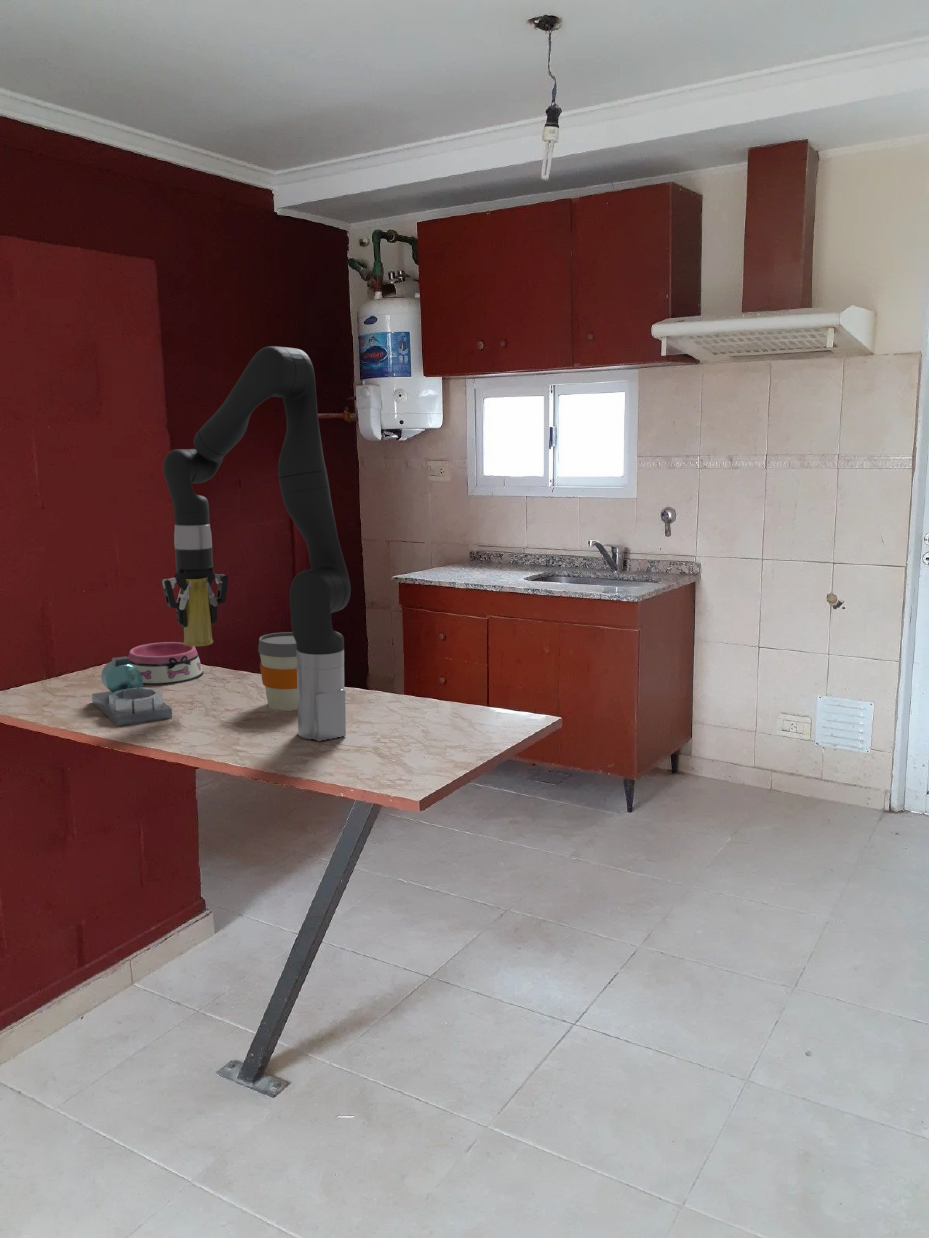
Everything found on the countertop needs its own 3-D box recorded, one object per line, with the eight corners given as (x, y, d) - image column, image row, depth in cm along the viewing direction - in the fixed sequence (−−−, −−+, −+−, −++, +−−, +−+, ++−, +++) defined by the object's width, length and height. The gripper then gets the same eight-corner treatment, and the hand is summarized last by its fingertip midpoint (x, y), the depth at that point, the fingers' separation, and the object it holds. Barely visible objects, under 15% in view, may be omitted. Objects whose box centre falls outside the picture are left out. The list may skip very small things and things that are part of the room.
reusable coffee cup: (323, 698, 216) (322, 632, 213) (309, 714, 204) (308, 645, 201) (269, 695, 217) (267, 630, 214) (251, 711, 205) (249, 643, 202)
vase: (219, 642, 206) (216, 576, 203) (200, 647, 201) (196, 580, 198) (196, 639, 209) (193, 574, 206) (177, 645, 203) (173, 578, 201)
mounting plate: (172, 717, 200) (169, 670, 198) (118, 726, 194) (115, 677, 192) (143, 695, 216) (140, 651, 214) (92, 702, 210) (89, 657, 208)
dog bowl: (144, 690, 221) (143, 661, 220) (111, 674, 234) (109, 647, 233) (217, 677, 234) (216, 649, 232) (181, 662, 247) (179, 636, 245)
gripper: (164, 550, 194) (169, 632, 197) (233, 545, 202) (236, 624, 205) (153, 546, 200) (158, 626, 203) (220, 542, 208) (223, 618, 211)
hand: (197, 624), depth 204 cm, fingers closed on vase, 5 cm apart
